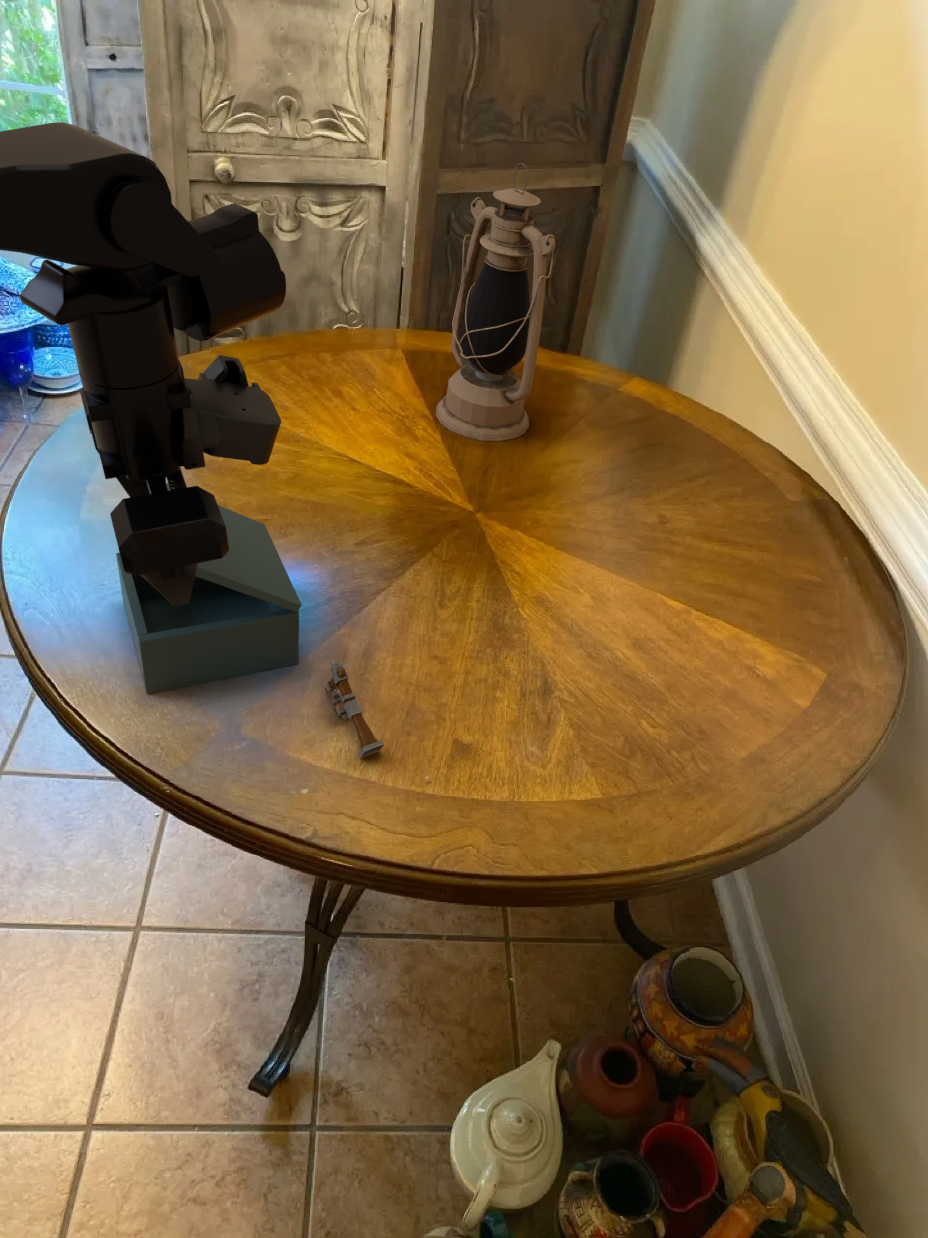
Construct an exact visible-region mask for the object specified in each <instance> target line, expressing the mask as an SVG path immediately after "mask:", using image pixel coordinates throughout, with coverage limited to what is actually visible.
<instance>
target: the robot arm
mask: <svg viewBox="0 0 928 1238" xmlns="http://www.w3.org/2000/svg"><path fill="white" fill-rule="evenodd" d="M259 224H260V223H259V214H258V213H257V212H256V211H253V210H251V209H249V208H248V207H245V206H242V205H241V204H239V203H236V202H233V203H229V204H227V205H224V206H221V207H219V208H217V209H216V210H214V211H213V212H211V213H209V214H206V215H203V216H200V217H197V218H194V219H191V220H187V219H186V218H185V216H183V214H182V213H181V212H180V211H179V209H177V208H176V207H175V205H174V204H173V199H172V192H171V190H170V187H169V185H168V181H167V179H166V177H165V175H164V174H163V172H162V170H160V169H159V166H158V165H157V163H156V162H155V161H154V160H152V159H151V158H149V157H147V156H145V155H143V154H141V153H138V152H136V151H133V150H132V149H129V148H128V147H125V146H123V145H120V144H118V143H117V142H113V141H111V140H109V139H108V138H105V137H102V136H100V135H98V134H96V133H93V132H92V131H89V130H87V129H84V128H82V127H80V126H77V125H76V124H72V123H67V122H64V121H59V122H57V121H56V122H49V123H43V124H36V125H30V126H25V127H18V128H13V129H7V130H6V129H5V130H1V131H0V251H4V252H12V253H21V254H25V255H29V256H33V257H38V258H42V259H44V260H42V262H41V265H40V267H39V270H38V272H37V274H36V275H35V276H33V277H32V279H30V280H29V281H28V282H27V284H26V285H25V286H24V288H23V289H22V291H21V292H20V294H19V299H20V302H21V304H23V305H25V306H27V307H28V308H30V309H31V310H33V311H35V312H36V313H38V314H40V315H42V316H43V317H45V318H46V319H48V320H50V321H51V322H53V323H54V324H56V325H58V326H66V325H67V327H68V331H69V335H70V339H71V344H72V347H73V352H74V355H75V361H76V365H77V369H78V374H79V378H80V382H81V385H82V389H80V391H79V393H80V398H81V401H82V405H83V410H84V414H85V418H86V422H87V426H88V431H89V434H90V435H91V438H92V441H93V445H94V449H95V450H96V452H97V453H98V455H99V459H100V463H101V468H102V471H103V475H104V479H105V480H111V479H116V480H117V481H118V483H119V484H120V485H121V487H122V488H123V489H124V491H125V492H126V494H127V495H128V497H125V498H122V499H121V500H120V501H119V502H118V504H117V505H116V506H115V507H114V508H113V510H112V511H110V513H109V515H110V519H111V523H112V528H113V532H114V537H115V539H116V544H117V548H118V553H120V556H121V560H122V564H123V568H124V572H126V573H129V574H132V575H134V576H138V575H141V576H142V577H143V578H145V579H146V580H147V581H148V582H149V583H150V584H151V585H152V586H153V587H154V588H155V589H157V590H158V591H159V592H160V593H161V594H162V595H163V596H164V597H165V598H166V599H167V600H168V601H169V602H170V603H171V604H172V605H173V606H179V605H183V604H187V603H189V602H190V598H191V593H192V588H193V583H194V578H195V573H196V569H197V565H198V563H201V562H206V561H211V560H216V559H221V558H223V557H224V556H225V555H226V554H227V553H228V551H229V545H228V538H227V531H226V526H225V523H224V521H223V518H222V515H221V513H220V510H219V507H218V505H219V504H218V502H217V499H216V497H215V494H214V493H211V492H209V491H207V490H206V489H204V488H203V487H201V486H198V485H192V486H188V485H187V483H186V482H187V481H186V480H185V476H184V474H183V471H182V468H181V467H183V468H184V469H185V470H186V471H189V470H195V469H200V468H201V469H203V468H206V462H205V455H204V454H206V455H208V456H211V457H215V458H223V459H229V460H230V459H231V460H239V461H247V462H249V463H250V464H252V465H256V466H263V465H267V464H268V463H269V462H270V459H271V456H272V455H271V454H272V452H273V449H274V446H275V443H276V440H277V436H278V434H279V430H280V427H281V425H282V419H281V418H282V417H281V416H280V414H279V412H278V411H277V408H276V407H275V403H274V402H273V400H272V398H271V396H270V395H269V394H268V393H267V392H266V391H264V390H263V389H262V388H261V387H260V385H259V383H258V382H255V381H253V382H251V385H249V382H248V378H247V374H246V371H245V368H244V366H243V364H242V362H241V360H240V359H239V358H238V357H233V356H228V355H223V354H218V356H216V357H215V359H214V360H213V361H212V362H211V363H210V364H209V365H208V366H207V368H205V370H204V371H203V372H199V374H198V377H197V379H196V378H186V377H185V373H184V368H183V366H182V363H181V360H180V359H179V353H178V347H177V341H176V335H175V334H176V333H175V330H176V331H182V332H184V334H186V336H189V337H190V338H191V339H194V340H196V341H200V342H204V341H209V340H211V339H213V338H216V337H218V336H220V335H223V334H226V333H227V332H231V331H233V330H235V329H237V328H240V327H243V326H244V325H247V324H249V323H252V322H254V321H257V320H259V319H262V318H264V317H266V316H268V315H270V314H273V313H276V312H277V311H278V310H280V309H281V307H282V305H283V304H284V302H285V298H286V295H287V279H286V274H285V272H284V271H283V270H282V267H281V264H280V261H279V258H278V257H277V254H276V252H275V250H274V248H273V247H272V245H271V244H270V242H269V240H268V239H267V238H266V237H265V235H263V233H262V232H261V231H260V225H259ZM54 261H55V262H59V263H63V264H68V265H72V266H71V267H68V268H65V267H64V266H61V265H59V264H58V263H55V262H54ZM166 483H168V484H169V487H170V491H168V489H167V486H166ZM217 504H218V505H217Z"/></svg>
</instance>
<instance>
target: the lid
mask: <svg viewBox="0 0 928 1238" xmlns="http://www.w3.org/2000/svg"><path fill="white" fill-rule="evenodd" d="M166 486H167V489H168V491H170V487H169V484H168V482H166ZM217 505H218V507H219V510H220V513H221V515H222V518H223V521H224V523H225V526H226V531H227V538H228V545H229V551H228V553H227V554H226V555H225V556H224V557H223V558H221V559H216V560H211V561H206V562H201V563H198V565H197V569H196V573H195V576H196V577H199V578H202V579H205V580H208V581H210V582H213V583H216V584H219V585H222V586H224V587H227V588H230V589H233V590H236V591H238V592H241V593H244V594H247V595H250V596H252V597H255V598H258V599H261V600H264V601H266V602H269V603H272V604H275V605H278V606H280V607H283V608H286V609H289V610H292V611H294V612H297V611H298V612H299V610H300V609H301V607H303V605H302V602H301V601H300V598H299V596H298V594H297V592H296V589H295V587H294V584H293V583H292V581H291V578H290V577H289V574H288V572H287V569H286V568H285V566H284V563H283V561H282V558H281V557H280V555H279V553H278V550H277V548H276V546H275V544H274V541H273V539H272V537H271V535H270V533H269V531H268V528H267V526H266V525H265V524H264V523H262V522H259V521H257V520H255V519H253V518H250V517H249V516H246V515H243V514H241V513H238V512H236V511H234V510H232V509H230V508H227V507H225V506H223V505H219V504H218V503H217Z"/></svg>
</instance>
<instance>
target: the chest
mask: <svg viewBox="0 0 928 1238" xmlns="http://www.w3.org/2000/svg"><path fill="white" fill-rule="evenodd" d="M115 556H116V564H117V570H118V577H119V582H120V583H119V585H120V591H121V598H122V603H123V604H122V605H123V609H124V612H125V616H126V621H127V624H128V627H129V632H130V635H131V639H132V643H133V648H134V651H135V655H136V660H137V663H138V667H139V671H140V675H141V678H142V683H143V686H144V690H145V694H146V695H149V694H154V693H160V692H165V691H170V690H174V689H179V688H184V687H190V686H195V685H199V684H204V683H210V682H214V681H219V680H226V679H229V678H235V677H240V676H244V675H249V674H254V673H259V672H264V671H268V670H269V671H270V670H276V669H280V668H284V667H285V668H286V667H289V666H294V665H295V666H296V665H299V648H300V646H299V645H300V612H299V610H298V611H297V612H294V611H292V610H289V609H286V608H283V607H280V606H278V605H275V604H272V603H269V602H266V601H264V600H261V599H258V598H255V597H252V596H250V595H247V594H244V593H241V592H238V591H236V590H233V589H230V588H227V587H224V586H222V585H219V584H216V583H213V582H210V581H208V580H205V579H202V578H199V577H196V576H195V578H194V583H193V588H192V593H191V598H190V602H189V603H187V604H183V605H179V606H173V605H172V604H171V603H170V602H169V601H168V600H167V599H166V598H165V597H164V596H163V595H162V594H161V593H160V592H159V591H158V590H157V589H155V588H154V587H153V586H152V585H151V584H150V583H149V582H148V581H147V580H146V579H145V578H143V577H142V576H141V575H138V576H134V575H132V574H129V573H126V572H124V568H123V564H122V560H121V556H120V552H116V554H115Z"/></svg>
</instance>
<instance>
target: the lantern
mask: <svg viewBox="0 0 928 1238" xmlns="http://www.w3.org/2000/svg"><path fill="white" fill-rule="evenodd" d="M519 165H522V166H524V167H525V168H526V173H527V174H526V181H525V183H524V184H525V185H524V188H523V189H520V188H515V187H516V185H515V184H516V173H517V168H518V166H519ZM529 175H530V173H529V169H528V166H527V165H526V164H525V163H523V162H519V163H516V165H515V167H514V173H513V188H507V189H498V190H495V191H494V192H492V196H493V197H494V198H495V199H496V200H497V201H499V202H501V204H500V208H497V207H495V206H487V207H486V204H485V203H484V201H483V200H482V198H481V196H477V197H475V198H474V199H473V200H472V202H471V203H470V212H471V215H472V216H473V218H474V221H475V223H474V228H473V231H472V233H471V234H469V233H468V234H465V236H464V238H463V241H462V243H463V244H462V263H461V276H460V277H461V279H460V285H459V291H458V295H457V300H456V304H455V309H454V314H453V317H452V322H451V323H452V326H451V327H452V335H451V336H452V337H451V351H452V354H453V356H454V359H455V361H456V362H457V364H458V366H460V368H459V369H458V370H457V371H456V372H455V373H453V374H452V375H451V377H449V378H448V381H447V390H446V395H445V396H444V397H443V398H442V399H441V400H440V401H439V402H438V403H437V404H436V406H435V416H436V418H437V419H438V421H439V423H440V424H441V425H442V426H443V427H445V428H446V429H447V430H449V431H450V432H452V433H455V434H457V435H460V436H461V437H464V438H468V439H472V440H477V441H482V442H502V441H509V440H514V439H516V438H519V437H520V436H521V435H524V434H525V433H526V431H527V430H528V429H529V427H530V421H529V420H530V418H529V415H528V413H527V411H526V410H525V408H524V407H525V402H526V399H527V397H529V396H530V395H531V392H532V391H531V390H532V386H533V383H534V377H535V372H536V365H537V359H538V353H539V346H540V340H541V332H542V331H541V330H542V322H543V313H544V305H545V293H546V280H547V279H549V278H550V277H551V275H552V269H553V263H554V251H555V249H556V240H555V235H553V234H547V235H544V236H543V233H542V232H541V231H540V230H539V229H538V228H537V227H534V221H535V217H534V216H533V215H532V214H530V213H529V212H530V207H531V208H532V207H535V206H538V205H539V204H541V201H542V200H541V199H540V198H539V197H538V196H536V195H534V194H532V193H530V192H529V191H526V187H527V184H528V180H529ZM509 205H510V206H509ZM490 223H491V227H490V233H487V234H486V231H487V228H488V226H489V224H490ZM467 237H469V238H470V240H469V241H470V242H469V245H468V250H467V254H466V258H465V247H466V246H465V245H466V240H467ZM482 247H484V248H485V249H486V250H487V255H486V256H485V258H484V264H483V266H482V268H481V270H480V273H479V275H478V277H477V279H476V281H475V282H474V280H475V275H476V270H477V266H478V262H479V258H480V253H481V250H482ZM550 254H551V260H550V266H549V272H548V274H547V257H548V255H550ZM530 256H533V274H532V275H533V276H532V288H531V289H532V291H531V300H530V282H529V276H528V275H529V274H528V268H529V263H528V258H529V257H530ZM473 287H474V288H473ZM523 359H524V361H523V368H522V374H521V378H519V377H518V375H517V374H516V373H515V372H514V370H515V369H516V368H517V367H518V366H520V364H521V363H522V360H523Z"/></svg>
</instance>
